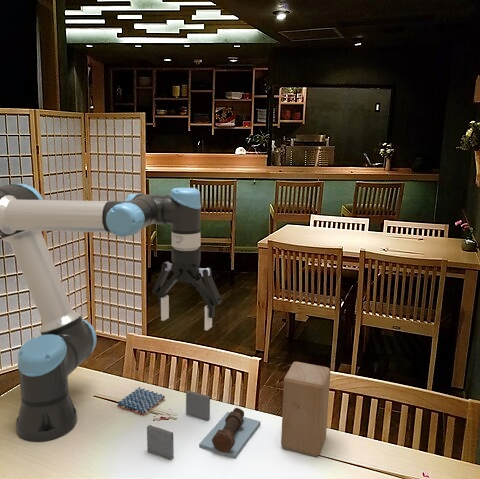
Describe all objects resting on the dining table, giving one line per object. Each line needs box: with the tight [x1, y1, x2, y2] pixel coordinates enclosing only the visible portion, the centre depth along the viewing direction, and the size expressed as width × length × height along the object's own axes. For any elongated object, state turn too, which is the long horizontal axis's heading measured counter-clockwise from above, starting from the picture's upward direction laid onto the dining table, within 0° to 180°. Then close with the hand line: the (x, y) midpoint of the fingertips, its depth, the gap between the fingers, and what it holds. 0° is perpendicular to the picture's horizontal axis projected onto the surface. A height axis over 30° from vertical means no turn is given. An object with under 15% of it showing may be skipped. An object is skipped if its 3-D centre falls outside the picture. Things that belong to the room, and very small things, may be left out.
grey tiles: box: [146, 389, 211, 461], centre depth 130 cm, size 7×19×7 cm, turn 155°
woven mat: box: [116, 386, 166, 417], centre depth 144 cm, size 10×11×2 cm
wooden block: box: [280, 361, 331, 457], centre depth 126 cm, size 10×10×20 cm
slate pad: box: [198, 411, 261, 460], centre depth 130 cm, size 10×16×1 cm, turn 155°
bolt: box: [212, 407, 245, 453], centre depth 129 cm, size 6×5×15 cm
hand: (186, 323), depth 135 cm, fingers open, 13 cm apart
